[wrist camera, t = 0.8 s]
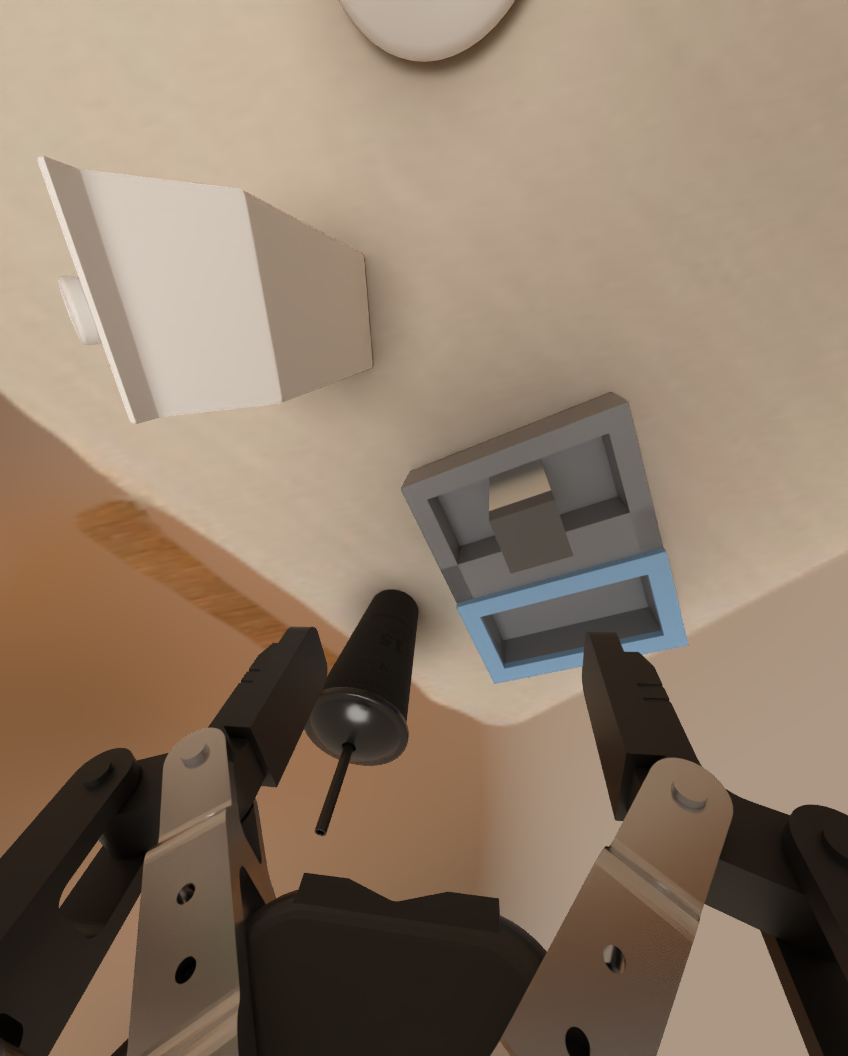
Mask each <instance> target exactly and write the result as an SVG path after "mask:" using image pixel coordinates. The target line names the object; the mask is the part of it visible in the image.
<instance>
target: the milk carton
mask: <svg viewBox="0 0 848 1056" xmlns="http://www.w3.org/2000/svg"><path fill="white" fill-rule="evenodd" d="M38 163H39V166H40V169H41V172H42V175H43V178H44V180H45V183H46V186H47V189H48V192H49V194H50V197H51V200H52V203H53V206H54V209H55V211H56V214H57V217H58V220H59V223H60V225H61V228H62V231H63V234H64V237H65V240H66V242H67V245H68V248H69V251H70V254H71V257H72V259H73V262H74V265H75V268H76V271H77V273H78V276H79V278H76V277H63V276H62V277H59V287H60V291H61V294H62V297H63V300H64V303H65V305H66V308H67V311H68V314H69V316H70V319H71V321H72V324H73V326H74V329H75V331H76V333H77V335H78V337H79V339H80V340H81V341H82V343H83V344H86V345H92V344H100V343H102V344H103V347H104V350H105V352H106V355H107V358H108V361H109V364H110V367H111V369H112V372H113V375H114V378H115V381H116V383H117V386H118V389H119V392H120V395H121V398H122V400H123V403H124V406H125V409H126V412H127V414H128V417H129V420H130V421H131V423H133V424H138V423H142V422H145V421H149V420H152V419H156V418H161V417H170V416H178V415H187V414H195V413H204V412H212V411H220V410H229V409H237V408H246V407H254V406H263V405H271V404H279V403H282V402H284V401H287V400H289V399H292V398H295V397H297V396H300V395H303V394H305V393H308V392H310V391H313V390H316V389H318V388H321V387H323V386H326V385H329V384H331V383H334V382H337V381H339V380H342V379H344V378H347V377H350V376H352V375H355V374H357V373H360V372H363V371H365V370H368V369H371V368H372V366H373V361H372V347H371V335H370V323H369V311H368V298H367V286H366V274H365V262H364V256H363V254H362V253H360V252H358V251H356V250H354V249H352V248H350V247H349V246H347V245H345V244H343V243H341V242H339V241H337V240H335V239H334V238H332V237H330V236H328V235H326V234H324V233H322V232H320V231H319V230H317V229H315V228H313V227H311V226H309V225H307V224H305V223H304V222H302V221H300V220H298V219H296V218H294V217H292V216H290V215H289V214H287V213H285V212H283V211H281V210H279V209H277V208H275V207H274V206H272V205H270V204H268V203H266V202H264V201H262V200H260V199H259V198H257V197H255V196H253V195H251V194H249V193H247V192H245V191H244V190H243V189H240V188H233V187H224V186H216V185H208V184H200V183H191V182H183V181H175V180H167V179H159V178H150V177H142V176H134V175H126V174H118V173H109V172H101V171H93V170H85V169H77V168H75V167H72V166H69V165H66V164H64V163H61V162H58V161H56V160H53V159H50V158H48V157H45V156H40V157H38Z"/></svg>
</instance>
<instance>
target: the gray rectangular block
mask: <svg viewBox="0 0 848 1056" xmlns="http://www.w3.org/2000/svg"><path fill="white" fill-rule="evenodd" d="M489 523H490V525H491V527H492V530H493V532H494V535H495V537H496V539H497V542H498V544H499V547H500V549H501V551H502V554H503V556H504V559H505V561H506V563H507V566H508V568H509V571H510V573H511V574H512V573H515V572H519V571H522V570H526V569H529V568H533V567H536V566H540V565H543V564H547V563H551V562H554V561H558V560H561V559H565V558H568V557H572V556H574V555H573V552H572V550H571V547H570V544H569V541H568V538H567V535H566V532H565V529H564V526H563V523H562V520H561V517H560V514H559V511H558V508H557V505H556V502H555V499H554V497H553V494H552V491H551V488H550V485H549V483H548V480H547V477H546V474H545V471H544V469H543V466H542V463H541V460H540V459H537V460H535V461H532V462H529V463H526V464H524V465H521V466H518V467H515V468H513V469H510V470H507V471H504V472H502V473H499V474H496V475H494V476H491V477H489Z"/></svg>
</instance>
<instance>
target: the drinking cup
mask: <svg viewBox="0 0 848 1056" xmlns="http://www.w3.org/2000/svg"><path fill="white" fill-rule="evenodd" d="M417 620H418V607H417V605H416V603H415V601H414V600H413V599H412V598H411V597H410V596H409V595H407V594H406V593H404V592H401V591H397V590H385V591H382V592H380V593H378V594H377V595H376V596H375V597H374V598H373V600H372V601H371V603H370V605H369V607H368V608H367V610H366V612H365V613H364V615H363V617H362V618H361V620H360V622H359V624H358V625H357V627H356V629H355V630H354V632H353V634H352V635H351V637H350V639H349V640H348V642H347V644H346V646H345V647H344V649H343V651H342V653H341V654H340V656H339V657H338V659H337V661H336V662H335V664H334V666H333V668H332V669H331V671H330V673H329V674H328V676H327V678H326V681H325V684H324V686H323V689H322V691H321V693H320V695H319V697H318V699H317V702H316V704H315V706H314V708H313V710H312V712H311V715H310V717H309V719H308V721H307V723H306V725H305V728H304V729H305V731H306V733H307V735H308V737H309V738H310V739H311V741H312V742H313V743H314V744H315V745H316V746H317V747H318V748H320V749H321V750H322V751H324V752H325V753H327V754H328V755H330V756H332V757H334V758H336V759H339V762H338V765H337V768H336V771H335V774H334V776H333V779H332V782H331V785H330V788H329V791H328V794H327V797H326V800H325V802H324V805H323V808H322V811H321V814H320V817H319V819H318V822H317V825H316V828H315V833H316V834H317V835H320V836H325V835H326V833H327V829H328V827H329V823H330V820H331V817H332V814H333V811H334V808H335V805H336V802H337V798H338V795H339V792H340V789H341V786H342V783H343V780H344V777H345V774H346V771H347V768H348V765H349V763H351V764H356V765H364V766H374V765H382V764H386V763H389V762H391V761H393V760H395V759H396V758H398V757H399V756H400V755H401V754H402V753H403V752H404V750H405V748H406V746H407V743H408V737H409V731H408V726H407V723H406V722H407V713H408V703H409V694H410V685H411V676H412V667H413V657H414V648H415V639H416V630H417Z"/></svg>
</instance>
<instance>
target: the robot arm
mask: <svg viewBox="0 0 848 1056" xmlns="http://www.w3.org/2000/svg"><path fill="white" fill-rule="evenodd" d="M326 678H327V662H326V659H325V655H324V652H323V648H322V645H321V641H320V638H319V635H318V631H317V629H316V628H315V627H290V628H288V630H287V631H286V632H285V634H284V635H283V637H282V638H281V640H280V641H279V643H273V644H272V645H270V646H269V647H268V648H267V649H266V650H264V651H263V652H262V653H261V654H259V655H258V657H257V658H256V660H255V661H254V663H253V664H252V666H251V667H250V668H249V672H247V673H246V674H245V675H244V677H243V678H242V680H241V683H239V684H238V686H237V687H236V688H235V690H234V691H233V693H232V694H231V695H230V697H229V698H228V700H227V701H226V703H225V704H224V705H223V707H222V708H221V710H220V711H219V713H218V714H217V716H216V717H215V718H214V720H213V721H212V723H211V724H210V725H209V727H208V728H204V729H200V730H197V731H195V732H193V733H191V734H189V735H187V736H186V737H184V738H183V739H182V740H181V741H179V742H178V743H177V744H176V745H175V746H174V747H173V748H172V749H171V751H170V752H169V753H166V754H162V755H158V756H154V757H150V758H146V759H141V760H138V761H137V760H136V759H135V757H134V756H133V754H132V753H131V751H129V750H128V749H126V748H116V749H111V750H108V751H105V752H103V753H101V754H99V755H97V756H95V757H94V758H92V759H91V760H90V761H88V762H86V763H85V764H84V765H83V766H82V767H81V768H79V769H78V770H77V771H76V772H75V773H74V774H73V776H72V777H71V778H70V779H69V780H68V781H67V782H66V784H65V785H64V786H63V787H62V788H61V789H60V791H59V792H58V793H57V794H56V795H55V796H54V797H53V799H52V800H51V801H50V802H49V803H48V805H46V807H45V808H44V809H43V810H42V811H41V812H40V813H39V815H38V816H37V817H36V818H35V819H34V820H33V822H32V823H31V824H30V825H29V826H28V827H27V828H26V830H25V831H24V832H23V833H22V834H21V835H20V836H19V838H18V839H17V840H16V841H15V842H14V844H13V845H12V846H11V847H10V848H9V849H8V850H7V852H6V853H5V854H4V855H3V856H2V857H1V858H0V1056H48V1055H49V1053H50V1051H51V1050H52V1048H53V1046H54V1044H55V1043H56V1041H57V1039H58V1037H59V1036H60V1034H61V1032H62V1030H63V1029H64V1027H65V1025H66V1023H67V1022H68V1020H69V1018H70V1016H71V1015H72V1013H73V1011H74V1009H75V1008H76V1006H77V1004H78V1002H79V1001H80V999H81V997H82V995H83V994H84V992H85V990H86V988H87V987H88V985H89V983H90V981H91V979H92V978H93V976H94V974H95V972H96V971H97V969H98V967H99V965H100V964H101V962H102V960H103V958H104V957H105V955H106V953H107V951H108V950H109V948H110V946H111V944H112V943H113V941H114V939H115V937H116V935H117V934H118V932H119V930H120V929H121V927H122V925H123V923H124V922H125V920H126V918H127V916H128V915H129V913H130V911H131V909H132V908H133V906H134V904H135V902H136V901H137V899H138V897H139V895H140V893H141V899H140V911H139V922H138V934H137V945H136V957H135V969H134V980H133V991H132V1004H131V1014H130V1015H131V1016H130V1026H129V1037H128V1039H127V1040H126V1041H125V1042H124V1043H123V1044H122V1045H121V1046H120V1047H119V1048H118V1049H117V1050H116V1051H115V1052H114V1053H113V1054H112V1055H111V1056H656V1055H657V1052H658V1049H659V1046H660V1043H661V1040H662V1037H663V1034H664V1031H665V1027H666V1025H667V1021H668V1018H669V1015H670V1012H671V1009H672V1006H673V1003H674V1000H675V997H676V994H677V991H678V987H679V984H680V981H681V978H682V975H683V972H684V969H685V966H686V963H687V960H688V957H689V954H690V950H691V947H692V944H693V941H694V938H695V935H696V931H697V928H698V925H699V921H700V916H701V912H702V909H703V906H704V904H706V905H708V906H710V907H712V908H714V909H717V910H719V911H721V912H723V913H725V914H727V915H729V916H732V917H734V918H736V919H738V920H740V921H742V922H744V923H747V924H749V925H751V926H753V927H755V928H757V929H759V930H760V931H761V933H762V936H763V938H764V941H765V944H766V946H767V949H768V951H769V954H770V956H771V959H772V961H773V964H774V967H775V969H776V972H777V974H778V977H779V979H780V982H781V984H782V987H783V989H784V992H785V995H786V997H787V1000H788V1002H789V1005H790V1007H791V1010H792V1012H793V1015H794V1017H795V1020H796V1023H797V1025H798V1028H799V1030H800V1033H801V1035H802V1038H803V1041H804V1043H805V1046H806V1048H807V1051H808V1053H809V1056H848V815H846V814H844V813H841V812H839V811H837V810H835V809H831V808H828V807H824V806H820V805H803V806H801V807H798V808H796V809H795V810H794V811H793V812H792V814H791V815H787V814H785V813H782V812H779V811H776V810H773V809H770V808H768V807H765V806H762V805H759V804H756V803H753V802H751V801H748V800H746V799H743V798H741V797H739V796H737V795H735V794H733V793H731V792H730V791H728V790H727V789H725V788H724V786H723V785H722V784H721V782H720V781H719V780H717V778H716V777H715V776H714V775H713V774H711V773H710V772H709V771H707V770H706V769H704V768H703V767H702V766H701V764H700V763H699V761H698V759H697V757H696V755H695V753H694V751H693V748H692V746H691V744H690V742H689V740H688V738H687V736H686V734H685V732H684V729H683V727H682V725H681V723H680V721H679V719H678V717H677V714H676V712H675V710H674V708H673V706H672V704H671V702H669V697H668V695H667V693H666V691H665V689H664V688H663V687H662V683H661V681H660V678H659V676H658V674H657V672H656V670H655V668H654V666H653V665H652V664H651V663H650V662H649V661H648V660H647V659H645V658H644V657H643V656H642V655H641V654H640V653H639V652H624V650H623V647H622V645H621V642H620V640H619V637H618V635H617V633H616V632H590V631H587V632H586V634H585V642H584V654H583V667H582V684H583V691H584V696H585V700H586V704H587V708H588V712H589V717H590V721H591V725H592V729H593V733H594V737H595V741H596V745H597V749H598V753H599V757H600V760H601V765H602V769H603V773H604V777H605V781H606V785H607V789H608V793H609V798H610V801H611V806H612V810H613V813H614V818H615V820H617V821H623V823H622V825H621V827H620V828H619V830H618V832H617V834H616V836H615V838H614V840H613V841H612V843H611V845H610V846H609V847H607V846H606V847H605V848H604V849H603V850H602V852H601V853H600V854H599V856H598V858H597V860H596V861H595V863H594V865H593V867H592V869H591V870H590V873H589V874H588V876H587V878H586V880H585V882H584V884H583V885H582V887H581V890H580V891H579V893H578V895H577V897H576V899H575V901H574V903H573V904H572V906H571V908H570V910H569V912H568V914H567V916H566V917H565V919H564V921H563V923H562V925H561V927H560V929H559V931H558V932H557V934H556V936H555V938H554V940H553V942H552V944H551V946H550V947H549V949H548V951H546V950H545V949H544V948H543V947H542V946H541V945H540V944H539V943H538V942H537V941H536V940H535V939H534V938H533V937H532V936H531V935H529V933H527V932H526V931H525V930H524V929H522V928H521V927H519V926H518V925H516V924H515V923H513V922H512V921H510V920H508V919H506V918H504V917H502V916H500V909H499V899H498V898H491V897H483V896H476V895H467V894H461V893H453V892H445V893H439V894H434V895H429V896H424V897H419V898H414V899H409V900H404V901H397V902H395V901H391V900H389V899H387V898H385V897H383V896H381V895H379V894H377V893H375V892H374V891H372V890H370V889H368V888H366V887H364V886H362V885H360V884H358V883H356V882H354V881H352V880H351V879H348V878H340V877H333V876H325V875H318V874H310V873H304V875H303V878H302V881H301V884H300V887H299V890H295V891H292V892H290V893H287V894H284V895H282V896H280V897H278V898H276V896H275V892H274V889H273V886H272V884H271V880H270V876H269V872H268V868H267V861H266V855H265V848H264V842H263V836H262V829H261V823H260V817H259V811H258V805H257V801H256V798H255V797H256V795H257V793H258V791H259V789H260V787H261V786H268V787H277V786H278V784H279V781H280V779H281V777H282V775H283V773H284V771H285V769H286V766H287V764H288V762H289V760H290V758H291V756H292V753H293V751H294V749H295V747H296V745H297V742H298V740H299V738H300V736H301V734H302V732H303V730H304V728H305V725H306V723H307V721H308V719H309V717H310V715H311V712H312V710H313V708H314V706H315V704H316V702H317V699H318V697H319V695H320V693H321V691H322V689H323V686H324V684H325V681H326ZM98 840H99V841H100V842H101V844H102V845H103V846H102V848H101V849H100V851H99V852H98V853H97V855H96V856H95V858H94V859H93V861H92V862H91V864H90V865H89V866H88V868H87V869H86V871H85V872H84V874H83V875H82V877H81V878H80V879H79V881H78V882H77V884H76V885H75V887H74V888H73V889H72V891H71V892H70V894H69V895H68V897H67V898H66V899H65V901H64V902H63V904H62V905H61V907H60V908H59V901H60V897H61V895H62V892H63V890H64V888H65V886H66V885H67V883H68V882H69V880H70V879H71V878H72V876H73V875H74V873H75V872H76V871H77V869H78V868H79V866H80V865H81V864H82V862H83V861H84V859H85V858H86V857H87V855H88V853H89V852H90V851H91V849H92V848H93V847H94V845H95V844H96V842H97V841H98Z"/></svg>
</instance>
